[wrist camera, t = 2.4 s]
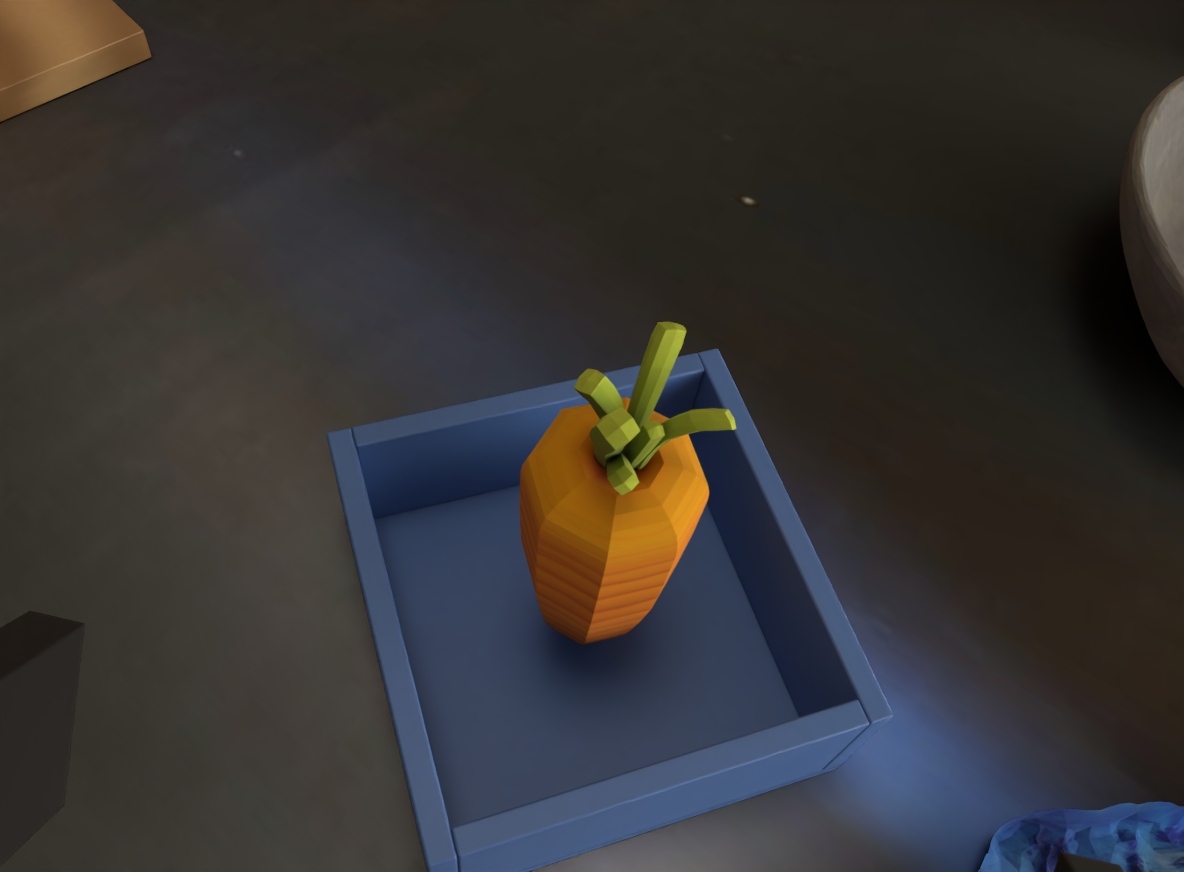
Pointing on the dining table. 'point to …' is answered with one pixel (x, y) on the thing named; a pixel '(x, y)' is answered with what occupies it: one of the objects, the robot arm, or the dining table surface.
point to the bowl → (1157, 222)
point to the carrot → (613, 498)
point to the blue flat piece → (1092, 838)
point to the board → (61, 48)
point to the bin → (600, 669)
